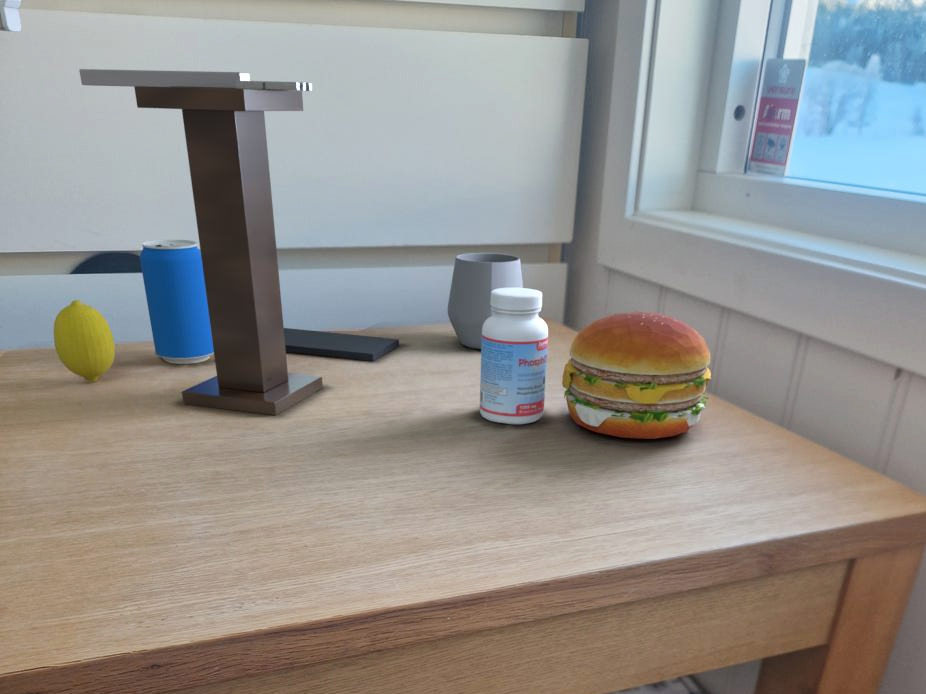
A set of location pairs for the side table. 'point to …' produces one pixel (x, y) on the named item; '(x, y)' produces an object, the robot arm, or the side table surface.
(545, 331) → the pill bottle
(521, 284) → the cup
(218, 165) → the stand
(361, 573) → the side table surface
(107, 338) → the lemon
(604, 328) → the burger
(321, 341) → the dark grey flat slab
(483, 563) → the side table surface
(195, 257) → the beverage can
